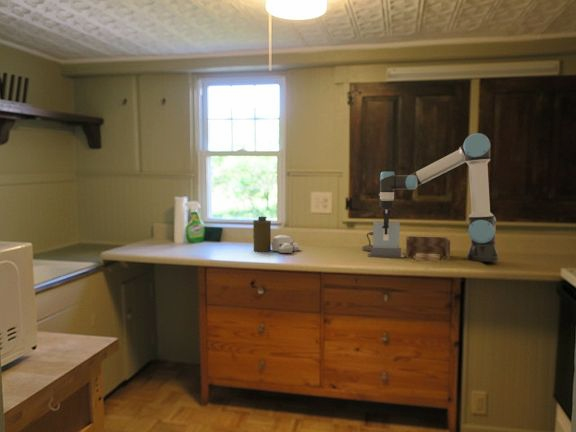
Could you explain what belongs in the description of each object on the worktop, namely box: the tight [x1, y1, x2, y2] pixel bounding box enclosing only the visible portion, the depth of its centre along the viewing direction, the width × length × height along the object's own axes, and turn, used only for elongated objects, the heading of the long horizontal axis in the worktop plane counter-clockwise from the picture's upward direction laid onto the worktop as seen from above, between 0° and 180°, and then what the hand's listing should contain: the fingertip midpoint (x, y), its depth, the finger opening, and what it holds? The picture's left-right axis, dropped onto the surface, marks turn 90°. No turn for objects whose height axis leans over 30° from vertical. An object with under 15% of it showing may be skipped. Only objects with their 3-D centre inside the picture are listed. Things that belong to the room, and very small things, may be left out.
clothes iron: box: [361, 231, 373, 252], centre depth 268 cm, size 14×10×12 cm
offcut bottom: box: [413, 258, 443, 262], centre depth 244 cm, size 14×5×1 cm, turn 73°
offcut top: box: [416, 253, 440, 258], centre depth 244 cm, size 12×4×1 cm, turn 72°
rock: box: [271, 234, 300, 254], centre depth 273 cm, size 18×20×10 cm
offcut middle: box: [413, 255, 440, 261], centre depth 244 cm, size 13×5×1 cm, turn 72°
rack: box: [405, 235, 451, 261], centre depth 253 cm, size 22×15×10 cm
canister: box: [252, 216, 272, 253], centre depth 274 cm, size 11×10×20 cm
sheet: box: [372, 221, 401, 249], centre depth 253 cm, size 14×2×18 cm, turn 77°
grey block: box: [367, 247, 405, 259], centre depth 254 cm, size 19×8×5 cm, turn 77°
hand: (386, 239), depth 253 cm, fingers open, 13 cm apart
